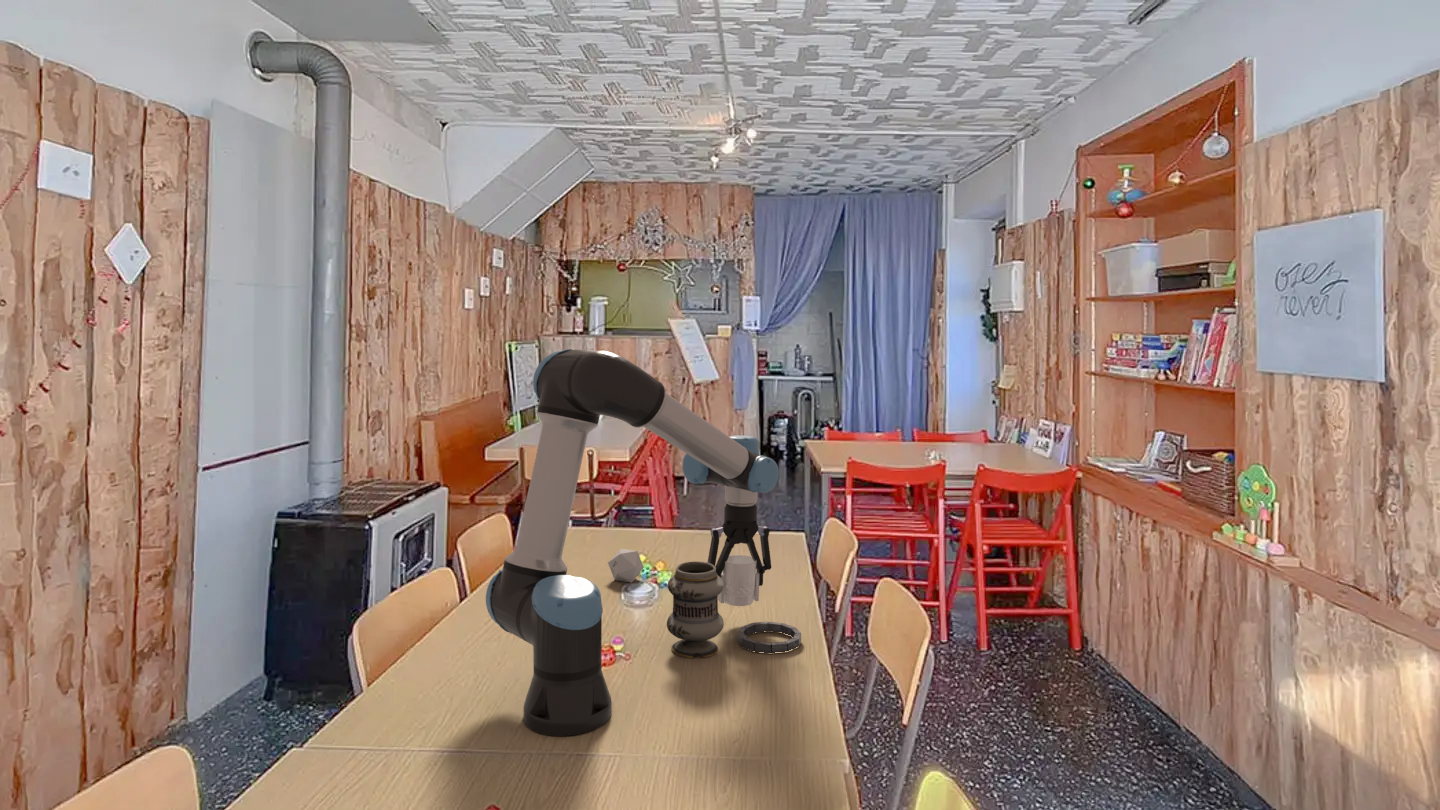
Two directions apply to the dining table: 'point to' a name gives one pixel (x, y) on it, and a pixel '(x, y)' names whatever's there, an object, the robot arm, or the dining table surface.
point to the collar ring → (767, 646)
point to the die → (625, 565)
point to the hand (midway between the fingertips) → (738, 600)
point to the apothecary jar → (695, 609)
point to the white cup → (739, 580)
